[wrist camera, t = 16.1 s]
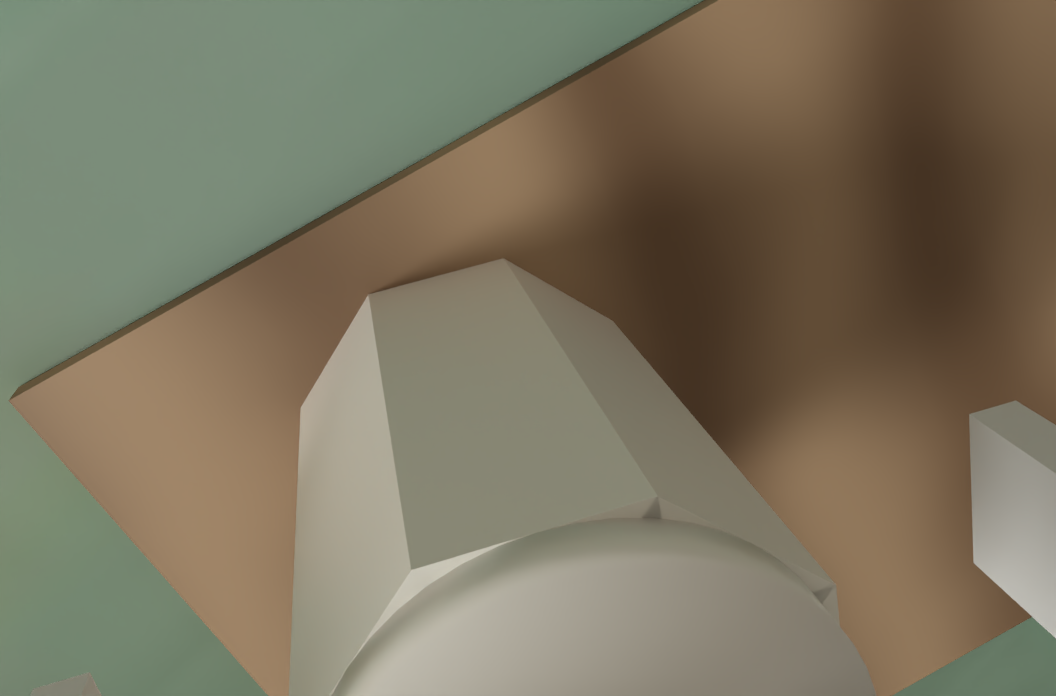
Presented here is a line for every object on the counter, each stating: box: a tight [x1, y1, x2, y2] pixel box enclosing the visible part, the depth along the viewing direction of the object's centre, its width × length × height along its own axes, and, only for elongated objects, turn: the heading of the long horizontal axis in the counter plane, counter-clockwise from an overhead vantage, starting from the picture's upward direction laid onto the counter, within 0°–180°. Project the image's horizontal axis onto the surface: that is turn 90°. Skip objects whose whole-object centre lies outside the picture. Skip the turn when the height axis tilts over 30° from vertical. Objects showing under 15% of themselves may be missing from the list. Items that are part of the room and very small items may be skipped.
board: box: [9, 0, 1056, 696], centre depth 19 cm, size 22×18×6 cm
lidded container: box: [289, 258, 876, 696], centre depth 15 cm, size 6×6×10 cm
